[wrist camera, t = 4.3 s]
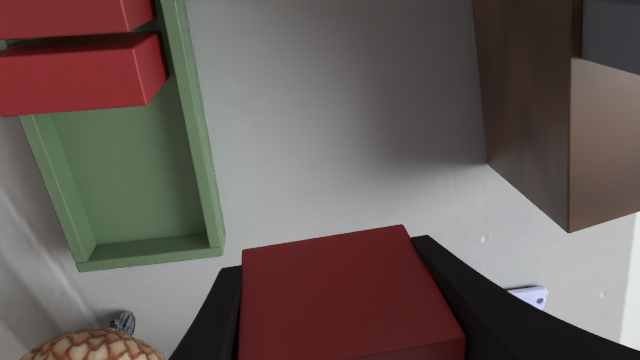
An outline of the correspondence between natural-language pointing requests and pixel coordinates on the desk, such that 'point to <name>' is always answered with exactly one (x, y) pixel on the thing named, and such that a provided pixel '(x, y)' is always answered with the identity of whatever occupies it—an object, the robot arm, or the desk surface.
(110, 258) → the green book tray
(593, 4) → the grey books
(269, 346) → the red book
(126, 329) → the acorn
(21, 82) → the rack books
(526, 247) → the desk surface
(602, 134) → the wood grain box
